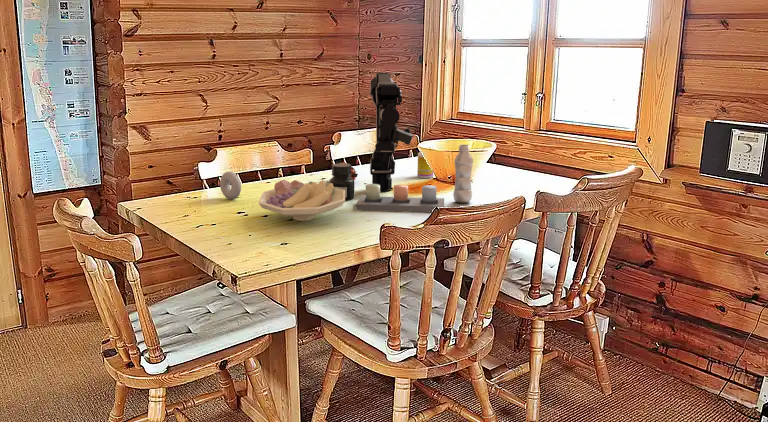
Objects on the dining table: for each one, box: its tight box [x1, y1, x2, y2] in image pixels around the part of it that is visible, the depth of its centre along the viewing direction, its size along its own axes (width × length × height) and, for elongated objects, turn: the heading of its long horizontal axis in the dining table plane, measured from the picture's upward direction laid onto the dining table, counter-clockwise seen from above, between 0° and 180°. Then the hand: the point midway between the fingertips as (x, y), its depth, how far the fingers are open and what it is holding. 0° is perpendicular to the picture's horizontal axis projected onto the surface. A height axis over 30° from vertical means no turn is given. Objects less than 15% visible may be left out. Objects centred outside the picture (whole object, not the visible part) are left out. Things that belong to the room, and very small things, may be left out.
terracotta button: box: [393, 184, 409, 201], centre depth 229 cm, size 5×5×4 cm
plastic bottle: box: [452, 144, 474, 204], centre depth 234 cm, size 6×7×20 cm
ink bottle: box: [328, 162, 355, 201], centre depth 240 cm, size 10×9×12 cm
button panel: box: [355, 195, 445, 213], centre depth 230 cm, size 29×12×2 cm, turn 84°
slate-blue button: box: [421, 184, 438, 201], centre depth 228 cm, size 5×5×4 cm
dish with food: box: [258, 179, 346, 222], centre depth 214 cm, size 28×28×14 cm
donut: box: [219, 171, 242, 200], centre depth 238 cm, size 10×4×10 cm, turn 48°
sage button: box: [365, 183, 381, 200], centre depth 230 cm, size 5×5×4 cm
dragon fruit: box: [341, 162, 359, 181], centre depth 267 cm, size 8×8×12 cm
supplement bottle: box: [416, 144, 435, 179], centre depth 277 cm, size 7×7×13 cm
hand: (387, 168), depth 229 cm, fingers open, 9 cm apart
